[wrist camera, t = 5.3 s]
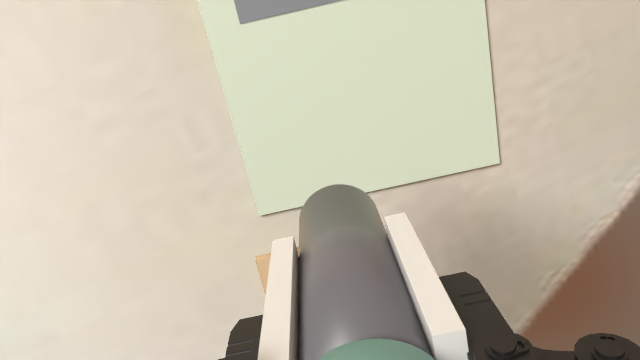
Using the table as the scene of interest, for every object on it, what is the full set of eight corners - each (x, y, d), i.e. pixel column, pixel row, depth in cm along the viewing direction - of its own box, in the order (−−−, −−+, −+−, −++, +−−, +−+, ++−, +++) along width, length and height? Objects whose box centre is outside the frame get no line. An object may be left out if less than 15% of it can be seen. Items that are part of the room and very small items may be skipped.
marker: (307, 266, 21) (316, 629, 9) (288, 192, 20) (266, 489, 7) (387, 249, 21) (512, 592, 8) (372, 173, 19) (494, 445, 7)
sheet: (259, 214, 31) (258, 216, 31) (195, -9, 26) (194, -9, 26) (498, 161, 31) (500, 163, 30) (475, -75, 26) (478, -76, 26)
